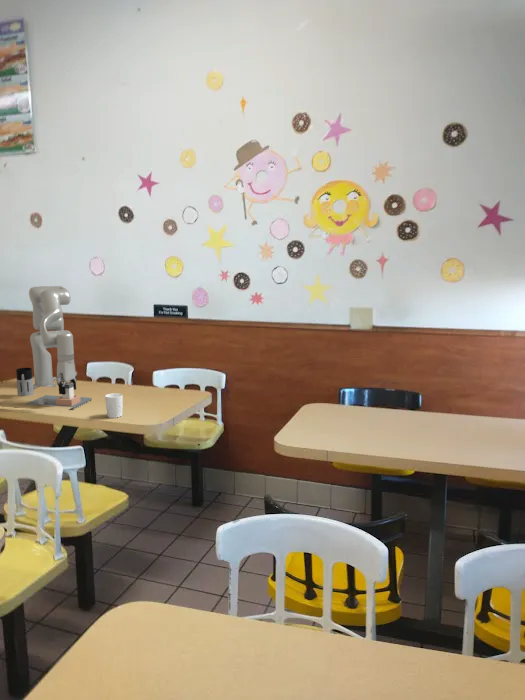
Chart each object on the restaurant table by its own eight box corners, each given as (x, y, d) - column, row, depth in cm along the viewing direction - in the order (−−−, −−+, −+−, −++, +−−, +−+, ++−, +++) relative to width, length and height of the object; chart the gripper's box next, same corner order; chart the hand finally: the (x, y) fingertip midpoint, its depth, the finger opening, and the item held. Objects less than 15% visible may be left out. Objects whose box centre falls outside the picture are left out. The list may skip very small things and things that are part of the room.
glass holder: (35, 394, 293) (33, 367, 291) (33, 400, 280) (31, 372, 277) (17, 395, 291) (15, 367, 288) (14, 402, 277) (12, 373, 275)
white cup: (103, 418, 251) (102, 397, 249) (110, 413, 259) (109, 392, 257) (119, 418, 250) (118, 397, 248) (126, 414, 258) (125, 393, 256)
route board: (45, 397, 286) (45, 389, 285) (91, 400, 281) (91, 392, 280) (25, 407, 269) (24, 398, 268) (73, 410, 264) (72, 401, 263)
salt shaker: (66, 401, 273) (65, 382, 271) (74, 402, 272) (73, 382, 270) (62, 404, 269) (61, 384, 267) (70, 404, 268) (68, 384, 266)
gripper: (68, 354, 276) (70, 387, 278) (48, 360, 259) (51, 395, 262) (82, 355, 274) (83, 388, 277) (63, 361, 257) (65, 396, 260)
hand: (67, 391), depth 269 cm, fingers open, 9 cm apart
